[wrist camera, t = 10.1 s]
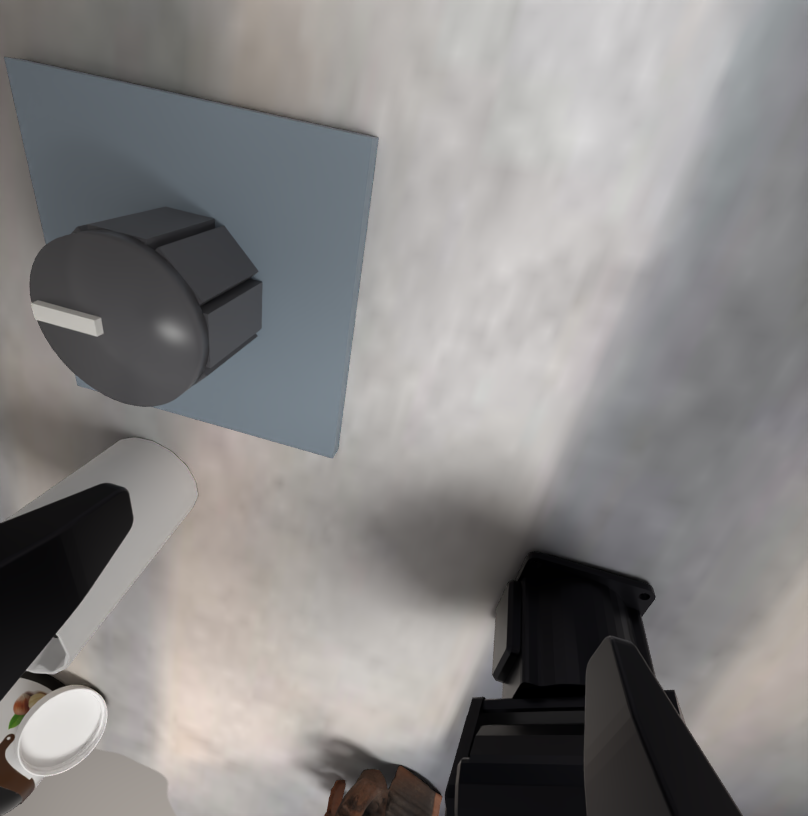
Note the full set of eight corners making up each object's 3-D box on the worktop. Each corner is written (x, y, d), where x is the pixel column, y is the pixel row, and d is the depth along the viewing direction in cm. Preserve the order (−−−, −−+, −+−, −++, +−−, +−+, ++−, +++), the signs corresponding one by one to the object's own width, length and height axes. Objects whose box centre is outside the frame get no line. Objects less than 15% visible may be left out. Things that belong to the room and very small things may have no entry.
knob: (263, 230, 18) (184, 262, 14) (260, 369, 22) (195, 429, 18) (118, 194, 19) (0, 215, 15) (137, 335, 22) (45, 385, 18)
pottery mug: (464, 807, 43) (417, 920, 39) (386, 745, 49) (338, 837, 45) (412, 779, 35) (348, 914, 31) (328, 710, 41) (265, 816, 37)
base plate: (378, 137, 17) (341, 141, 13) (338, 449, 24) (307, 501, 21) (23, 59, 18) (-92, 44, 15) (89, 378, 25) (23, 417, 22)
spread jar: (-5, 674, 49) (-136, 810, 40) (14, 634, 43) (-134, 782, 34) (97, 733, 51) (-4, 876, 42) (129, 701, 45) (20, 860, 36)
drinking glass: (98, 413, 27) (-98, 546, 18) (208, 456, 27) (61, 610, 18) (104, 495, 30) (-57, 638, 22) (201, 534, 30) (76, 692, 22)
